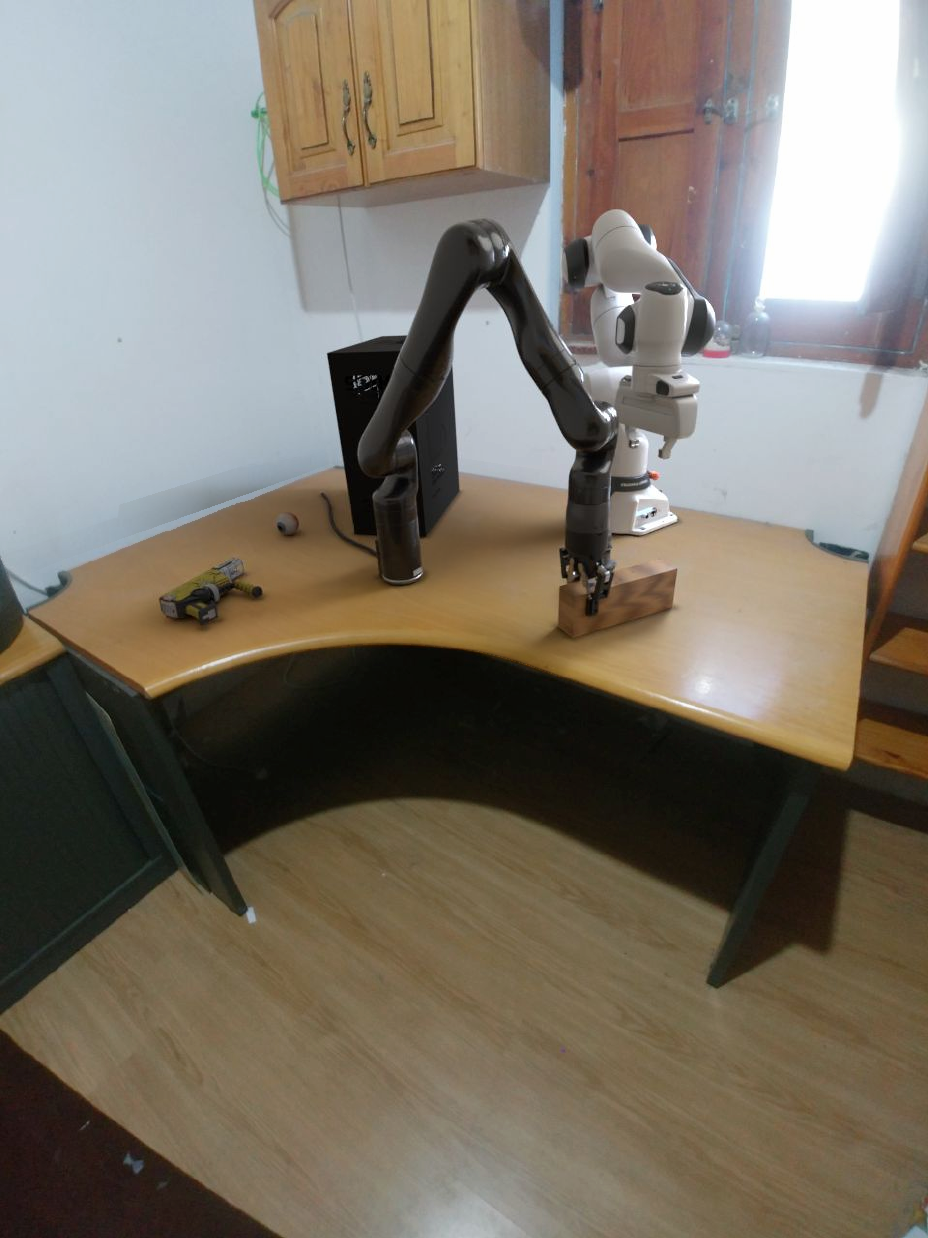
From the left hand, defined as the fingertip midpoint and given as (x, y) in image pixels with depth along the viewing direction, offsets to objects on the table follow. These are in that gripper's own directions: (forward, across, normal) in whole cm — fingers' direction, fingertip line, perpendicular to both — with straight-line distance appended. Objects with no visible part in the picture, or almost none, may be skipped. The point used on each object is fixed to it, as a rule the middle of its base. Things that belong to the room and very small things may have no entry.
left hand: (582, 608), depth 113 cm
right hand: (-22, -14, +24) cm, 36 cm away
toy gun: (+4, -48, -60) cm, 77 cm away
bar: (+4, 0, +8) cm, 9 cm away
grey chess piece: (+4, -15, +16) cm, 22 cm away
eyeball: (+4, -80, -41) cm, 90 cm away
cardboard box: (+4, -79, -6) cm, 79 cm away
